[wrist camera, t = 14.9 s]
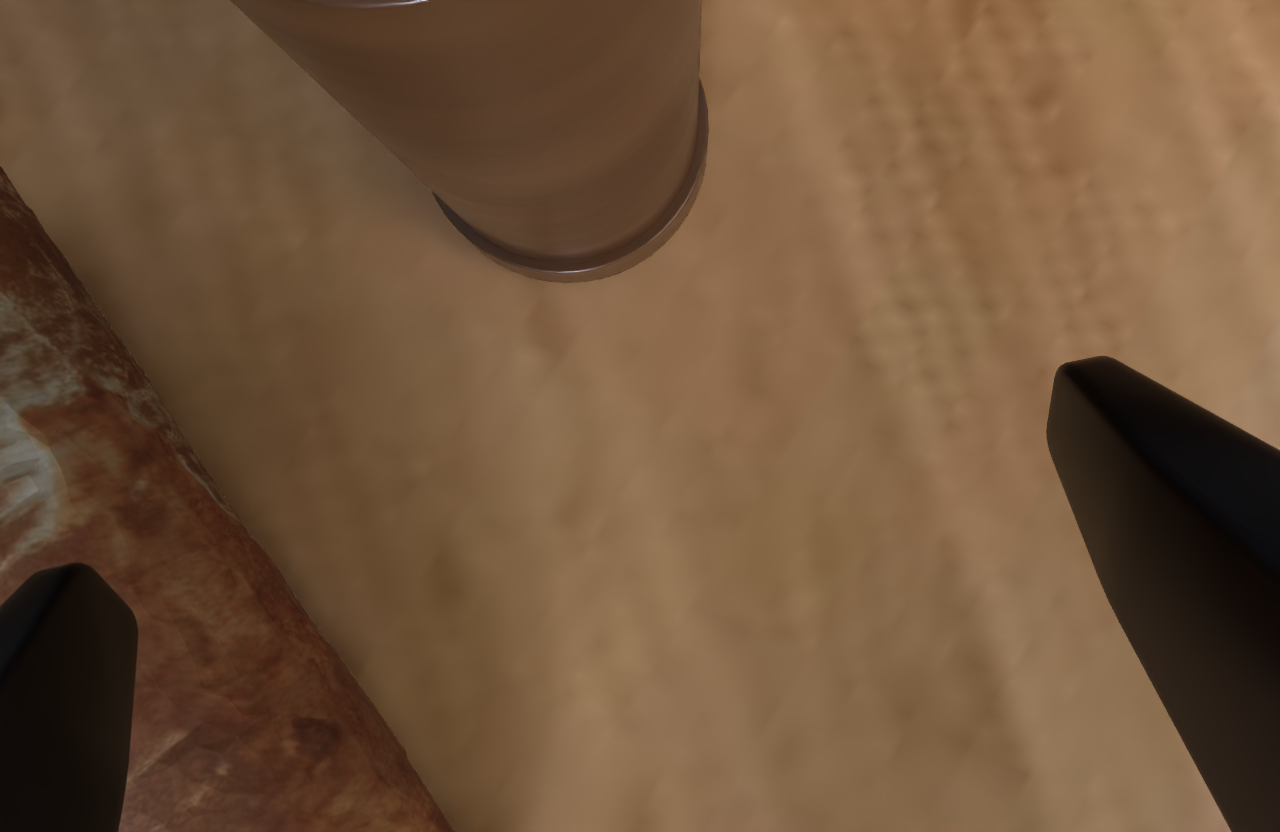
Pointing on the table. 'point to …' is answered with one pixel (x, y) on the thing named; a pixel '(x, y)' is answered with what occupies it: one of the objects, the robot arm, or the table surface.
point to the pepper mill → (523, 115)
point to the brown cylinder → (176, 584)
